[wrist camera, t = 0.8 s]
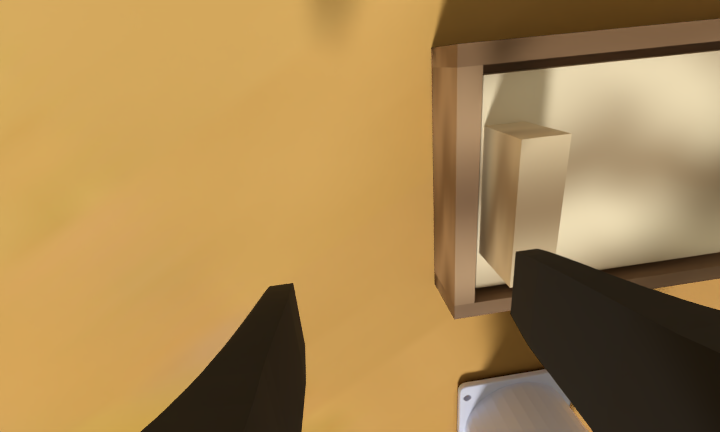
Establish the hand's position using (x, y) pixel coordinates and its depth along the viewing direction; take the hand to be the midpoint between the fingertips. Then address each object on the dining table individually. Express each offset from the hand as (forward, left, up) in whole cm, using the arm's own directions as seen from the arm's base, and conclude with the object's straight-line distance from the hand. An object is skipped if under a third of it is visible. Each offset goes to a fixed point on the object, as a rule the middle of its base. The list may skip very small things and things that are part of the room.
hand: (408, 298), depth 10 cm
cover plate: (0, -12, -8) cm, 15 cm away
